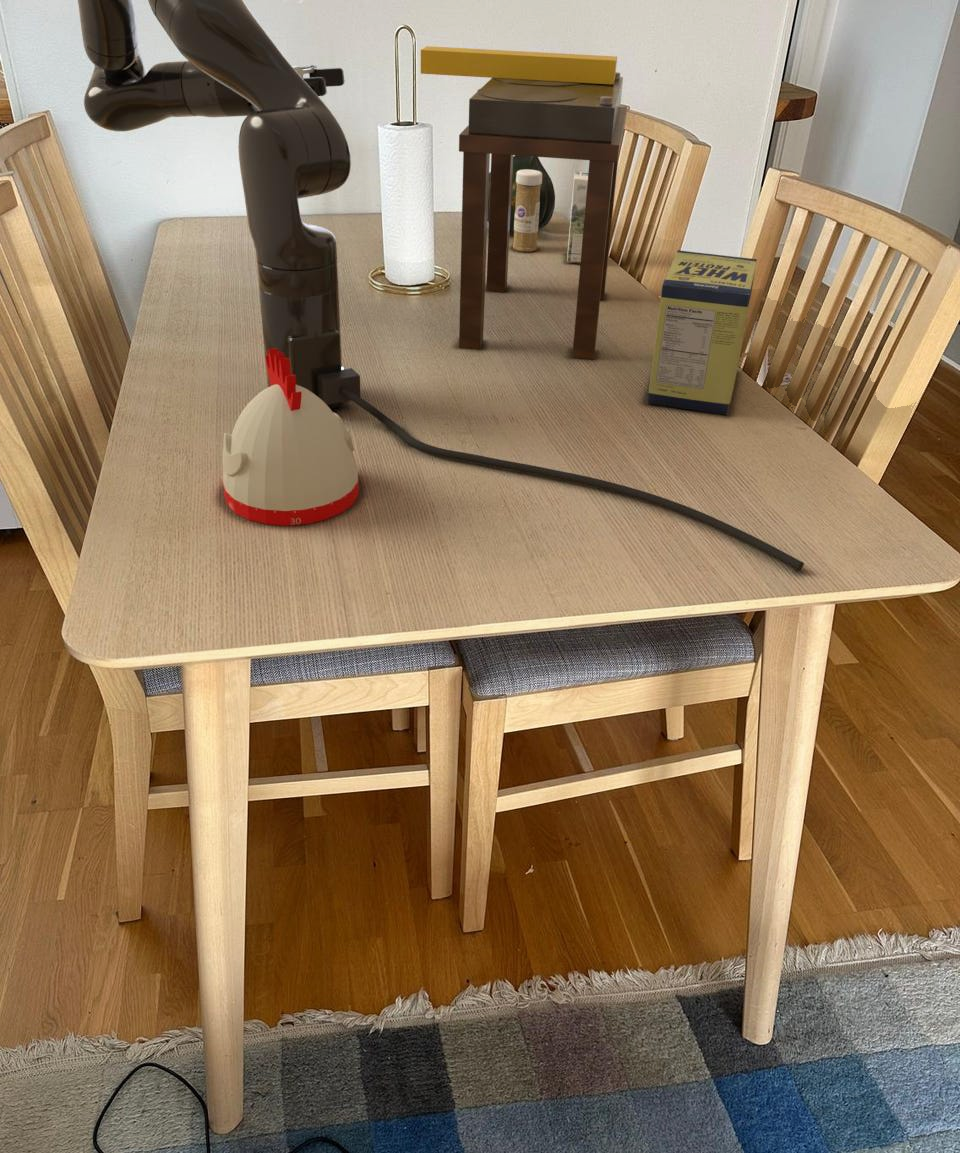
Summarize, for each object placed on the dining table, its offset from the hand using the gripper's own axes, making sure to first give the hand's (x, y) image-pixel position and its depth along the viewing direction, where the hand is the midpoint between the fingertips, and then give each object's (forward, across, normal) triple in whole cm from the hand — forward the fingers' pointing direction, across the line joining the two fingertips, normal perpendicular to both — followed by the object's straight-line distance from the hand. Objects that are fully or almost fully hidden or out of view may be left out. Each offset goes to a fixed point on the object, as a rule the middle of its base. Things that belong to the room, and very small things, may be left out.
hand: (334, 81), depth 138 cm
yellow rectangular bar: (+24, +8, +2) cm, 26 cm away
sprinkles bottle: (+20, +38, +34) cm, 55 cm away
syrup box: (+31, +34, +35) cm, 58 cm away
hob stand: (+26, +1, +34) cm, 43 cm away
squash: (+16, +51, +34) cm, 63 cm away
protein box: (+50, -20, +36) cm, 65 cm away
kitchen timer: (+8, -59, +31) cm, 67 cm away
